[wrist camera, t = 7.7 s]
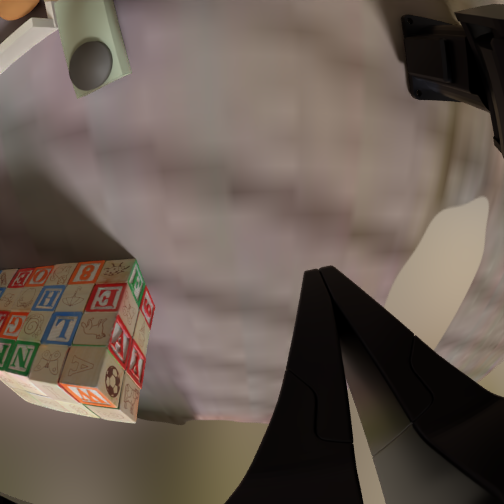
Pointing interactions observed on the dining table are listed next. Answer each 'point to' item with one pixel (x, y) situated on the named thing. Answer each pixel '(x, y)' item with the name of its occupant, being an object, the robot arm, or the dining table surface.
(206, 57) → the dining table surface
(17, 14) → the ball
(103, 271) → the stack of blocks
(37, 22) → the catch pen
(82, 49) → the lever
